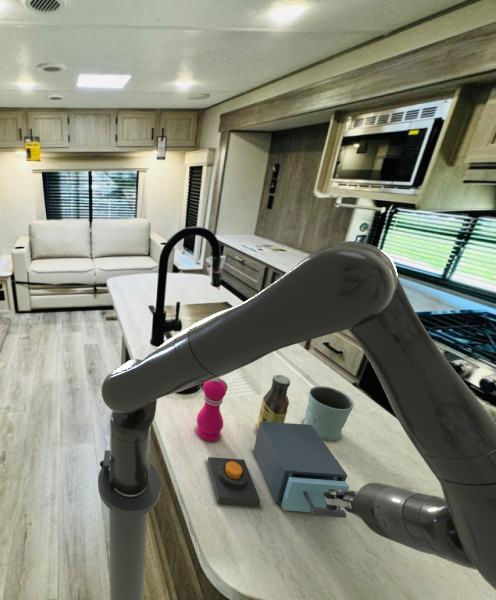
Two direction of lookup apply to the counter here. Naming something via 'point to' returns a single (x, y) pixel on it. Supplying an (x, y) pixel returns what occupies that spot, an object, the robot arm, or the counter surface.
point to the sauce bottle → (275, 401)
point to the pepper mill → (211, 410)
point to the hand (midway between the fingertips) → (333, 495)
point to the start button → (233, 470)
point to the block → (232, 484)
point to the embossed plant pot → (328, 411)
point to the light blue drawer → (311, 494)
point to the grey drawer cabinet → (292, 454)
